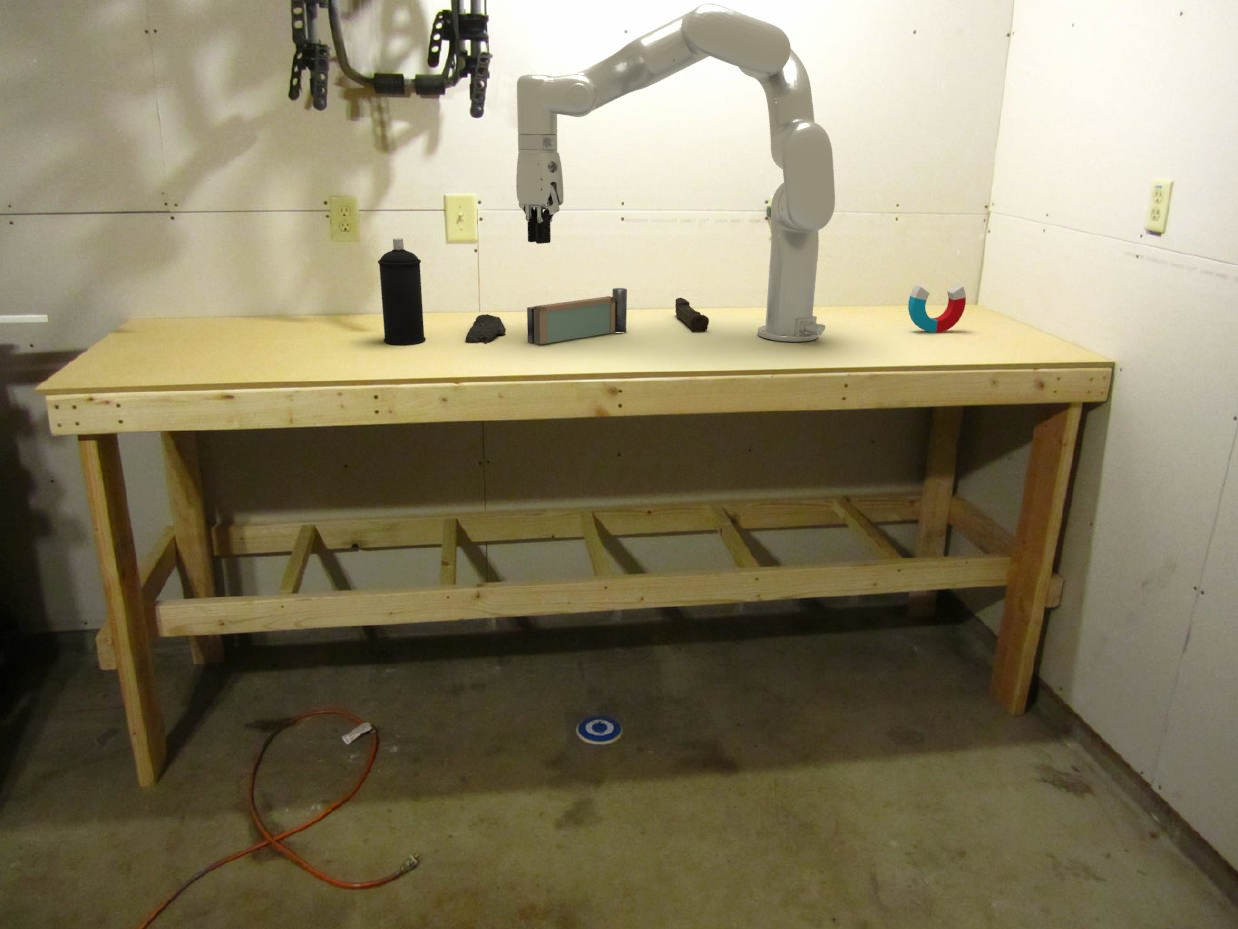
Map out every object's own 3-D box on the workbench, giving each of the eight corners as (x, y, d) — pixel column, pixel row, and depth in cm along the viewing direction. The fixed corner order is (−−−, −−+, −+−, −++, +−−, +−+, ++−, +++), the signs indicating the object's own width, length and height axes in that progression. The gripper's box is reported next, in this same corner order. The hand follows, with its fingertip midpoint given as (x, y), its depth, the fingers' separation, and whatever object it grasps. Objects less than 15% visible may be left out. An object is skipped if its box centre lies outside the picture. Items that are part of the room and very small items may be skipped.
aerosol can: (434, 341, 188) (428, 239, 181) (399, 347, 182) (392, 242, 175) (409, 334, 193) (403, 235, 186) (375, 340, 188) (367, 238, 181)
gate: (614, 332, 196) (615, 297, 194) (540, 344, 185) (539, 307, 182) (608, 330, 198) (609, 296, 195) (534, 342, 186) (533, 306, 184)
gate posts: (629, 332, 198) (629, 289, 195) (534, 344, 186) (533, 299, 183) (621, 329, 200) (621, 287, 197) (527, 341, 188) (526, 296, 185)
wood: (501, 346, 187) (501, 331, 186) (464, 345, 187) (463, 330, 186) (512, 323, 207) (512, 310, 206) (478, 323, 207) (478, 309, 206)
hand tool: (708, 333, 200) (710, 311, 198) (690, 333, 199) (691, 311, 197) (688, 316, 217) (689, 296, 216) (671, 316, 216) (672, 296, 215)
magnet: (909, 333, 201) (915, 286, 197) (904, 330, 203) (910, 284, 200) (961, 332, 202) (968, 286, 199) (955, 330, 205) (962, 284, 201)
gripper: (578, 145, 177) (578, 245, 183) (530, 143, 188) (531, 237, 194) (545, 145, 172) (547, 248, 178) (498, 143, 184) (501, 239, 190)
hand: (539, 241), depth 186 cm, fingers closed
